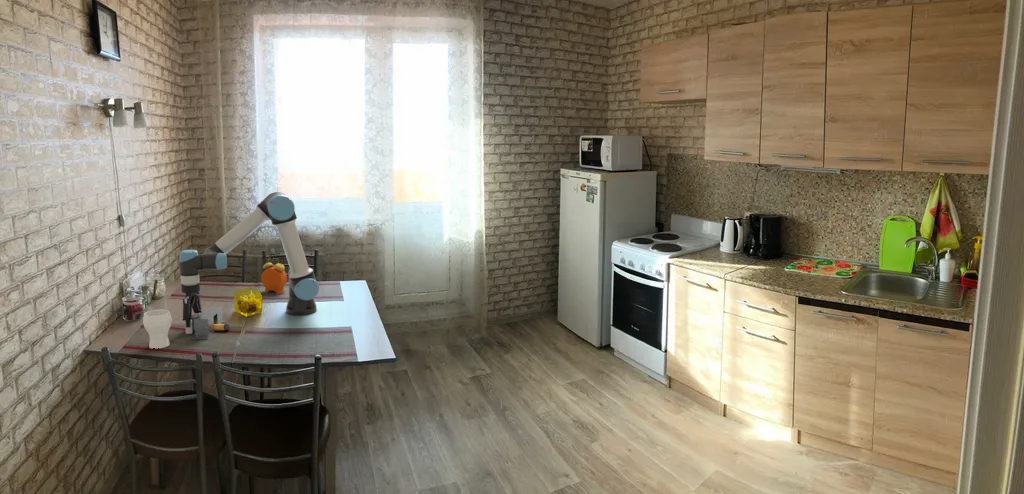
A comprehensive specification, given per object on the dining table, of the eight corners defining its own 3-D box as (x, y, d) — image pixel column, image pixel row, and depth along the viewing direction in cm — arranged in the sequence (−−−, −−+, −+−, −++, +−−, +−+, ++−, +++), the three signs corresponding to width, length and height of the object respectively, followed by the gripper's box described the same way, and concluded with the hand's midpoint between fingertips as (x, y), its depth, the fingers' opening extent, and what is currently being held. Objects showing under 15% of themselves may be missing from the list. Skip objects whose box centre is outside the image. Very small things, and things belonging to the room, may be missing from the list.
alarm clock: (288, 291, 356) (286, 258, 352) (281, 294, 350) (280, 260, 346) (268, 289, 358) (266, 256, 355) (261, 291, 353) (260, 258, 349)
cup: (160, 351, 258) (158, 317, 256) (139, 348, 260) (136, 314, 258) (179, 343, 269) (176, 310, 266) (158, 340, 271) (155, 308, 268)
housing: (225, 322, 298) (224, 305, 297) (208, 339, 275) (207, 320, 273) (210, 322, 297) (209, 305, 296) (192, 339, 274) (190, 321, 272)
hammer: (231, 328, 289) (230, 314, 288) (228, 331, 285) (227, 317, 284) (190, 329, 287) (189, 314, 285) (187, 331, 283) (186, 317, 281)
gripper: (190, 277, 291) (193, 322, 295) (172, 289, 269) (175, 338, 274) (207, 277, 292) (209, 322, 296) (190, 289, 271) (193, 337, 275)
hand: (193, 329), depth 285 cm, fingers open, 9 cm apart
